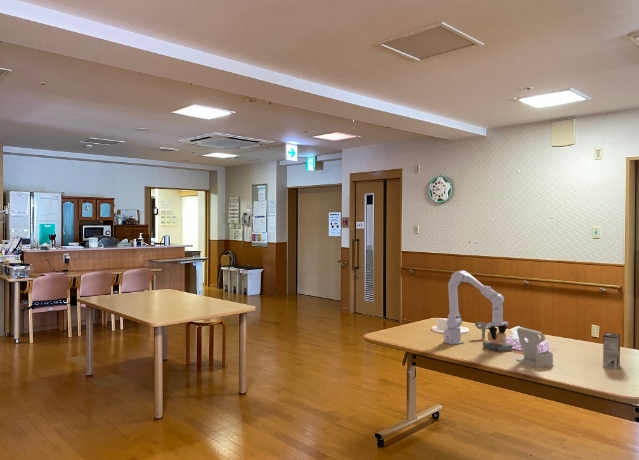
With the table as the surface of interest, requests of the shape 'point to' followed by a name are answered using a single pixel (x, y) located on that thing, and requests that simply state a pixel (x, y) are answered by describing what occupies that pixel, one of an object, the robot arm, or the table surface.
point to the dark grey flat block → (497, 346)
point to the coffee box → (611, 350)
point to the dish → (445, 326)
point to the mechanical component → (481, 327)
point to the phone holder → (533, 348)
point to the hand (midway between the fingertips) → (497, 338)
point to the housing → (497, 337)
